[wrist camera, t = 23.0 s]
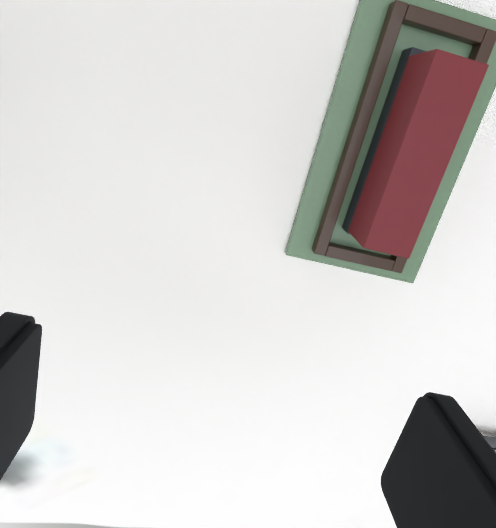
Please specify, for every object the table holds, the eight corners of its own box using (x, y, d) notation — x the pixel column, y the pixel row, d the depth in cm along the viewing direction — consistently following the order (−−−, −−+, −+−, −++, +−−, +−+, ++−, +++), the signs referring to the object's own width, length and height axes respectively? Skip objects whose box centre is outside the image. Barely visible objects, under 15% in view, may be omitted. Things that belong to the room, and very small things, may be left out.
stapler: (402, 49, 31) (440, 37, 25) (446, 63, 31) (493, 54, 26) (341, 227, 36) (362, 250, 30) (380, 237, 36) (408, 261, 30)
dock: (284, 252, 37) (287, 259, 35) (365, -19, 30) (373, -27, 28) (410, 280, 38) (419, 289, 37) (515, 28, 31) (531, 24, 30)
